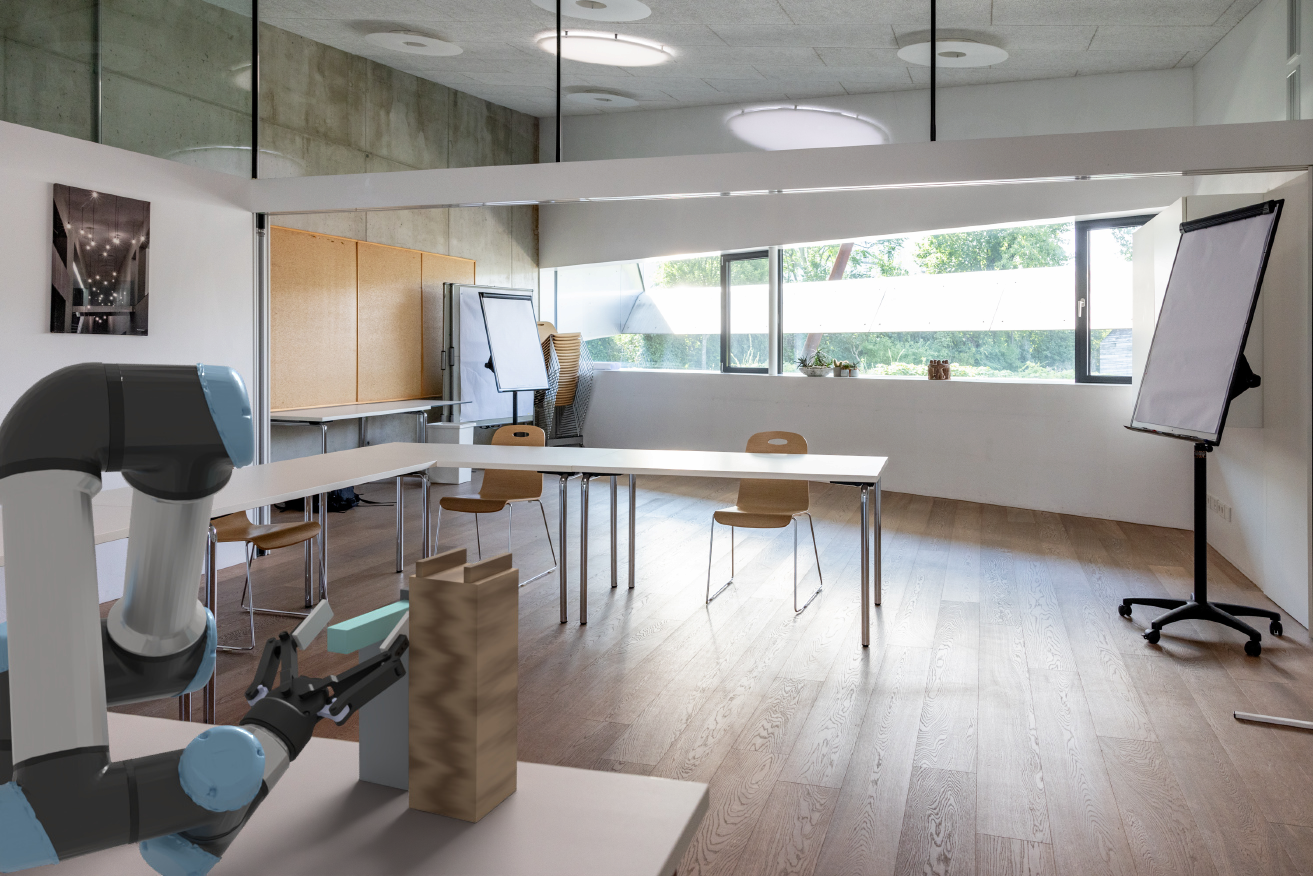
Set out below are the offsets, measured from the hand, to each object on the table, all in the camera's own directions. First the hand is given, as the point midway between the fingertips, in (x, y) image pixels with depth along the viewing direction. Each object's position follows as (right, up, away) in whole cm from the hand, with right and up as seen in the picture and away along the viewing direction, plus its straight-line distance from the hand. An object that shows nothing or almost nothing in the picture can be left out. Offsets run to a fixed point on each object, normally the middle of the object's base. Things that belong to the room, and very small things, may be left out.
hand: (370, 612), depth 122 cm
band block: (+2, -24, +8) cm, 25 cm away
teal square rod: (+1, -3, +4) cm, 5 cm away
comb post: (+12, -24, +1) cm, 27 cm away
